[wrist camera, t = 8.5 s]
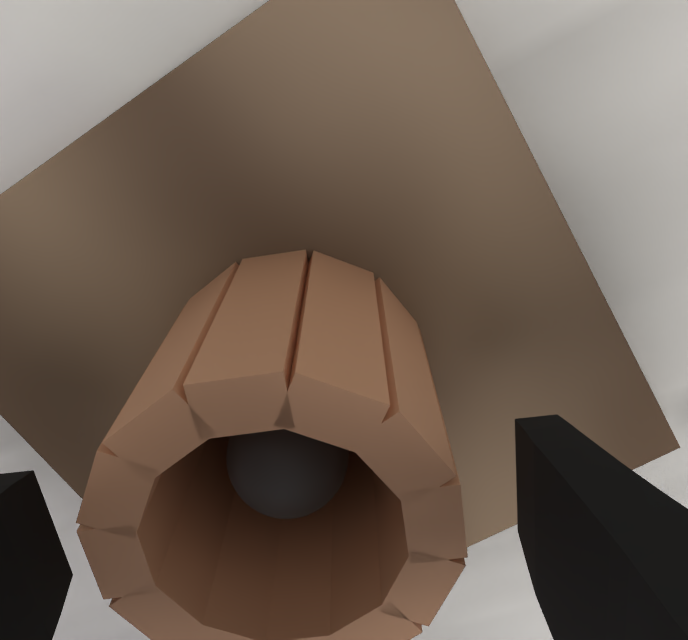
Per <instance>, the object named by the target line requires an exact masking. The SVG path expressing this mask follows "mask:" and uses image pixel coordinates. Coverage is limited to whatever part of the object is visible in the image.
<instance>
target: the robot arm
mask: <svg viewBox="0 0 688 640" xmlns="http://www.w3.org/2000/svg"><path fill="white" fill-rule="evenodd" d="M515 449H516V486H517V523H518V533H519V537H520V541H521V544H522V548H523V552H524V555H525V559H526V563H527V566H528V570H529V573H530V577H531V580H532V584H533V587H534V591H535V594H536V597H537V599H538V602H539V604H540V607H541V609H542V612H543V614H544V617H545V619H546V622H547V624H548V627H549V629H550V632H551V634H552V637H553V639H554V640H688V509H687V508H686V507H684V506H683V505H681V504H680V503H678V502H677V501H675V500H674V499H672V498H671V497H669V496H668V495H666V494H665V493H663V492H662V491H660V490H659V489H658V488H656V487H655V486H653V485H652V484H650V483H649V482H648V481H646V480H645V479H643V478H642V477H641V476H639V475H638V474H636V473H635V472H634V471H632V470H631V469H630V468H628V467H627V466H625V465H624V464H623V463H621V462H620V461H619V460H617V459H616V458H615V457H613V456H612V455H611V454H609V453H608V452H607V451H605V450H604V449H603V448H601V447H600V446H599V445H597V444H596V443H595V442H593V441H592V440H591V439H590V438H588V437H587V436H586V435H584V434H583V433H582V432H580V431H579V430H578V429H576V428H575V427H574V426H573V425H571V424H570V423H569V422H567V421H566V420H564V419H563V418H562V417H560V416H559V415H558V414H555V415H546V416H537V417H527V418H518V419H515ZM72 576H73V574H72V571H71V569H70V566H69V563H68V561H67V558H66V555H65V553H64V550H63V547H62V545H61V542H60V539H59V537H58V534H57V531H56V529H55V526H54V524H53V521H52V518H51V516H50V513H49V510H48V508H47V505H46V502H45V500H44V497H43V494H42V492H41V489H40V486H39V484H38V481H37V478H36V476H35V473H34V471H24V472H15V473H6V474H0V640H52V638H53V635H54V632H55V629H56V627H57V624H58V621H59V618H60V615H61V612H62V609H63V606H64V602H65V599H66V596H67V592H68V589H69V586H70V582H71V579H72Z"/></svg>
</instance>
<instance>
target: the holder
mask: <svg viewBox="0 0 688 640" xmlns="http://www.w3.org/2000/svg"><path fill="white" fill-rule="evenodd" d="M299 250H306V253H307V258H308V264H309V261H310V259H311V256H312V253H313V251H317V252H319V253H322V254H325V255H327V256H330V257H333V258H335V259H338V260H341V261H343V262H346V263H349V264H351V265H354V266H357V267H359V268H362V269H365V270H367V271H370V272H373V273H374V281H375V280H376V279H378V278H379V277H380V278H381V279H382V281H383V282H384V283H385V284H386V286H387V287H388V288H389V289H390V290H391V292H392V293H393V294H394V295H395V296H396V298H397V299H398V300H399V301H400V303H401V304H402V305H403V306H404V307H405V309H406V310H407V311H408V312H409V314H410V315H411V316H412V317H413V318H414V320H415V321H416V322H417V324H418V328H419V329H420V332H421V336H422V340H423V343H424V347H425V351H426V355H427V359H428V362H429V366H430V370H431V374H432V378H433V382H434V385H435V389H436V393H437V397H438V401H439V404H440V408H441V412H442V416H443V420H444V424H445V427H446V431H447V435H448V439H449V443H450V446H451V450H452V454H453V458H454V462H455V465H456V469H457V473H458V477H459V481H460V485H461V495H462V505H463V515H464V525H465V535H466V546H467V547H469V546H471V545H473V544H475V543H477V542H480V541H482V540H484V539H486V538H488V537H490V536H492V535H494V534H497V533H499V532H501V531H503V530H505V529H507V528H509V527H512V526H514V525H516V524H518V523H517V486H516V449H515V419H518V418H527V417H537V416H546V415H555V414H558V415H559V416H560V417H562V418H563V419H564V420H566V421H567V422H569V423H570V424H571V425H573V426H574V427H575V428H576V429H578V430H579V431H580V432H582V433H583V434H584V435H586V436H587V437H588V438H590V439H591V440H592V441H593V442H595V443H596V444H597V445H599V446H600V447H601V448H603V449H604V450H605V451H607V452H608V453H609V454H611V455H612V456H613V457H615V458H616V459H617V460H619V461H620V462H621V463H623V464H624V465H625V466H627V467H628V468H630V469H631V470H633V469H635V468H637V467H639V466H642V465H644V464H646V463H648V462H650V461H652V460H654V459H657V458H659V457H661V456H663V455H665V454H667V453H669V452H671V451H674V450H676V449H678V448H680V446H679V444H678V442H677V440H676V438H675V436H674V434H673V432H672V430H671V428H670V426H669V424H668V422H667V420H666V418H665V416H664V414H663V412H662V410H661V408H660V406H659V404H658V402H657V400H656V398H655V396H654V394H653V392H652V390H651V388H650V386H649V384H648V382H647V380H646V379H645V377H644V375H643V373H642V371H641V369H640V367H639V365H638V363H637V361H636V359H635V357H634V355H633V353H632V351H631V349H630V347H629V345H628V343H627V341H626V339H625V337H624V335H623V333H622V331H621V329H620V327H619V325H618V323H617V321H616V319H615V317H614V315H613V313H612V311H611V309H610V307H609V305H608V303H607V301H606V299H605V297H604V295H603V293H602V291H601V289H600V287H599V286H598V284H597V282H596V280H595V278H594V276H593V274H592V272H591V270H590V268H589V266H588V264H587V262H586V260H585V258H584V256H583V254H582V252H581V250H580V248H579V246H578V244H577V242H576V240H575V238H574V236H573V234H572V232H571V230H570V228H569V226H568V224H567V222H566V220H565V218H564V216H563V214H562V212H561V210H560V208H559V206H558V204H557V202H556V200H555V198H554V196H553V194H552V192H551V191H550V189H549V187H548V185H547V183H546V181H545V179H544V177H543V175H542V173H541V171H540V169H539V167H538V165H537V163H536V161H535V159H534V157H533V155H532V153H531V151H530V149H529V147H528V145H527V143H526V141H525V139H524V137H523V135H522V133H521V131H520V129H519V127H518V125H517V123H516V121H515V119H514V117H513V115H512V113H511V111H510V109H509V107H508V105H507V103H506V101H505V99H504V98H503V96H502V94H501V92H500V90H499V88H498V86H497V84H496V82H495V80H494V78H493V76H492V74H491V72H490V70H489V68H488V66H487V64H486V62H485V60H484V58H483V56H482V54H481V52H480V50H479V48H478V46H477V44H476V42H475V40H474V38H473V36H472V34H471V32H470V30H469V28H468V26H467V24H466V22H465V20H464V18H463V16H462V14H461V12H460V10H459V8H458V6H457V4H456V3H455V1H454V0H269V1H268V2H267V3H265V4H264V5H263V6H261V7H260V8H258V9H257V10H256V11H254V12H253V13H251V14H250V15H249V16H247V17H246V18H244V19H243V20H242V21H240V22H239V23H238V24H236V25H235V26H233V27H232V28H231V29H229V30H228V31H226V32H225V33H224V34H222V35H221V36H220V37H218V38H217V39H215V40H214V41H213V42H211V43H210V44H208V45H207V46H206V47H204V48H203V49H202V50H200V51H199V52H197V53H196V54H195V55H193V56H192V57H190V58H189V59H188V60H186V61H185V62H184V63H182V64H181V65H179V66H178V67H177V68H175V69H174V70H172V71H171V72H170V73H168V74H167V75H166V76H164V77H163V78H161V79H160V80H159V81H157V82H156V83H154V84H153V85H152V86H150V87H149V88H148V89H146V90H145V91H143V92H142V93H141V94H139V95H138V96H136V97H135V98H134V99H132V100H131V101H130V102H128V103H127V104H125V105H124V106H123V107H121V108H120V109H118V110H117V111H116V112H114V113H113V114H111V115H110V116H109V117H107V118H106V119H105V120H103V121H102V122H100V123H99V124H98V125H96V126H95V127H93V128H92V129H91V130H89V131H88V132H87V133H85V134H84V135H82V136H81V137H80V138H78V139H77V140H75V141H74V142H73V143H71V144H70V145H69V146H67V147H66V148H64V149H63V150H62V151H60V152H59V153H57V154H56V155H55V156H53V157H52V158H51V159H49V160H48V161H46V162H45V163H44V164H42V165H41V166H39V167H38V168H37V169H35V170H34V171H33V172H31V173H30V174H28V175H27V176H26V177H24V178H23V179H21V180H20V181H19V182H17V183H16V184H15V185H13V186H12V187H10V188H9V189H8V190H6V191H5V192H3V193H2V194H1V195H0V415H1V416H2V417H3V418H4V419H5V420H6V421H7V422H8V423H9V424H10V425H11V426H12V427H13V428H14V429H15V430H16V431H17V432H18V433H19V434H20V435H21V436H22V437H23V438H24V439H25V440H26V441H27V442H28V443H29V444H30V446H31V447H32V448H33V449H34V450H35V451H36V452H37V453H38V454H39V455H40V456H41V457H42V458H43V459H44V460H45V461H46V462H47V463H48V464H49V465H50V466H51V467H52V468H53V469H54V470H55V471H56V472H57V473H58V474H59V475H60V476H61V477H62V478H63V479H64V480H65V482H66V483H67V484H68V485H69V486H70V487H71V488H72V489H73V490H74V491H75V492H76V493H77V494H78V495H79V496H80V497H81V498H82V499H83V497H84V493H85V490H86V486H87V483H88V479H89V476H90V472H91V469H92V465H93V462H94V458H95V455H96V451H97V449H98V448H99V446H100V444H101V443H102V441H103V439H104V438H105V436H106V435H107V433H108V431H109V430H110V428H111V426H112V425H113V423H114V421H115V420H116V418H117V416H118V415H119V413H120V411H121V410H122V408H123V407H124V405H125V403H126V402H127V400H128V398H129V397H130V395H131V393H132V392H133V390H134V388H135V387H136V385H137V383H138V382H139V380H140V379H141V377H142V375H143V374H144V372H145V370H146V369H147V367H148V365H149V364H150V362H151V360H152V359H153V357H154V356H155V354H156V352H157V351H158V349H159V347H160V346H161V344H162V342H163V341H164V339H165V337H166V336H167V334H168V332H169V331H170V329H171V328H172V326H173V324H174V323H175V321H176V319H177V318H178V316H179V314H180V313H181V311H182V309H183V308H184V306H185V305H186V304H187V302H188V300H189V299H190V298H191V297H192V296H194V295H195V294H196V293H197V292H199V291H200V290H201V289H202V288H204V287H205V286H206V285H207V284H209V283H210V282H211V281H212V280H214V279H215V278H216V277H217V276H219V275H220V274H221V273H222V272H224V271H225V270H226V269H227V268H229V267H230V266H231V265H232V264H234V263H235V262H236V263H237V264H238V265H240V263H241V261H242V259H245V258H252V257H258V256H265V255H272V254H279V253H286V252H293V251H299ZM348 454H349V453H348V450H347V449H343V448H340V447H337V446H334V445H331V444H328V443H325V442H322V441H319V440H316V439H313V438H310V437H307V436H304V435H301V434H298V433H295V432H292V431H289V430H286V429H280V430H272V431H264V432H257V433H249V434H241V435H233V436H230V438H229V441H228V445H227V453H226V461H227V470H228V475H229V478H230V481H231V483H232V485H233V487H234V489H235V491H236V492H237V494H238V495H239V496H240V498H241V499H242V500H243V501H244V502H245V503H246V504H247V505H249V506H250V507H251V508H252V509H254V510H256V511H257V512H259V513H261V514H263V515H266V516H269V517H273V518H279V519H294V518H300V517H303V516H307V515H309V514H311V513H313V512H315V511H317V510H319V509H320V508H322V507H323V506H324V505H326V504H327V503H328V502H329V501H330V500H331V499H332V498H333V497H334V495H335V494H336V493H337V491H338V490H339V488H340V486H341V485H342V483H343V480H344V477H345V475H346V472H347V466H348Z"/></svg>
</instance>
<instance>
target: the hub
mask: <svg viewBox="0 0 688 640" xmlns="http://www.w3.org/2000/svg"><path fill="white" fill-rule="evenodd" d="M280 429H286V430H289V431H292V432H295V433H298V434H301V435H304V436H307V437H310V438H313V439H316V440H319V441H322V442H325V443H328V444H331V445H334V446H337V447H340V448H343V449H347V450H348V453H349V454H348V466H347V472H346V475H345V477H344V480H343V483H342V485H341V486H340V488H339V490H338V491H337V493H336V494H335V495H334V497H333V498H332V499H331V500H330V501H329V502H328V503H327V504H326V505H324V506H323V507H322V508H320V509H319V510H317V511H315V512H313V513H311V514H309V515H307V516H303V517H300V518H294V519H279V518H273V517H269V516H266V515H263V514H261V513H259V512H257V511H256V510H254V509H252V508H251V507H250V506H249V505H247V504H246V503H245V502H244V501H243V500H242V499H241V498H240V496H239V495H238V494H237V492H236V491H235V489H234V487H233V485H232V483H231V481H230V478H229V475H228V470H227V461H226V453H227V445H228V441H229V438H230V436H233V435H241V434H249V433H257V432H264V431H272V430H280ZM76 523H78V524H80V526H79V528H78V530H77V534H78V536H79V539H80V542H81V544H82V547H83V549H84V552H85V554H86V557H87V559H88V562H89V564H90V567H91V569H92V572H93V574H94V577H95V579H96V582H97V584H98V587H99V589H100V592H101V594H102V597H103V599H111V598H112V600H111V603H110V605H109V607H110V608H112V609H113V610H114V611H115V612H117V613H118V614H119V615H120V616H122V617H123V618H124V619H126V620H127V621H128V622H129V623H131V624H132V625H133V626H134V627H136V628H137V629H138V630H139V631H141V632H142V633H143V634H144V635H146V636H147V637H148V638H149V639H151V640H410V639H412V638H413V637H415V636H417V635H419V634H420V633H422V626H421V624H422V625H426V626H429V625H430V624H431V622H432V620H433V619H434V617H435V615H436V614H437V612H438V610H439V609H440V607H441V605H442V604H443V602H444V601H445V599H446V597H447V596H448V594H449V592H450V591H451V589H452V587H453V586H454V584H455V582H456V581H457V579H458V577H459V576H460V574H461V572H462V571H463V569H464V567H465V566H466V565H465V561H464V558H466V557H468V556H467V546H466V535H465V525H464V515H463V505H462V495H461V485H460V481H459V477H458V473H457V469H456V465H455V462H454V458H453V454H452V450H451V446H450V443H449V439H448V435H447V431H446V427H445V424H444V420H443V416H442V412H441V408H440V404H439V401H438V397H437V393H436V389H435V385H434V382H433V378H432V374H431V370H430V366H429V362H428V359H427V355H426V351H425V347H424V343H423V340H422V336H421V332H420V329H419V328H418V324H417V322H416V321H415V320H414V318H413V317H412V316H411V315H410V314H409V312H408V311H407V310H406V309H405V307H404V306H403V305H402V304H401V303H400V301H399V300H398V299H397V298H396V296H395V295H394V294H393V293H392V292H391V290H390V289H389V288H388V287H387V286H386V284H385V283H384V282H383V281H382V279H381V278H380V277H379V278H378V279H376V280H375V281H374V273H373V272H370V271H367V270H365V269H362V268H359V267H357V266H354V265H351V264H349V263H346V262H343V261H341V260H338V259H335V258H333V257H330V256H327V255H325V254H322V253H319V252H317V251H313V253H312V256H311V259H310V261H309V264H308V258H307V253H306V250H299V251H293V252H286V253H279V254H272V255H265V256H258V257H252V258H245V259H242V261H241V263H240V265H238V264H237V263H236V262H235V263H234V264H232V265H231V266H230V267H229V268H227V269H226V270H225V271H224V272H222V273H221V274H220V275H219V276H217V277H216V278H215V279H214V280H212V281H211V282H210V283H209V284H207V285H206V286H205V287H204V288H202V289H201V290H200V291H199V292H197V293H196V294H195V295H194V296H192V297H191V298H190V299H189V300H188V302H187V304H186V305H185V306H184V308H183V309H182V311H181V313H180V314H179V316H178V318H177V319H176V321H175V323H174V324H173V326H172V328H171V329H170V331H169V332H168V334H167V336H166V337H165V339H164V341H163V342H162V344H161V346H160V347H159V349H158V351H157V352H156V354H155V356H154V357H153V359H152V360H151V362H150V364H149V365H148V367H147V369H146V370H145V372H144V374H143V375H142V377H141V379H140V380H139V382H138V383H137V385H136V387H135V388H134V390H133V392H132V393H131V395H130V397H129V398H128V400H127V402H126V403H125V405H124V407H123V408H122V410H121V411H120V413H119V415H118V416H117V418H116V420H115V421H114V423H113V425H112V426H111V428H110V430H109V431H108V433H107V435H106V436H105V438H104V439H103V441H102V443H101V444H100V446H99V448H98V449H97V451H96V455H95V458H94V462H93V465H92V469H91V472H90V476H89V479H88V483H87V486H86V490H85V493H84V497H83V500H82V503H81V507H80V510H79V514H78V517H77V521H76Z"/></svg>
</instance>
